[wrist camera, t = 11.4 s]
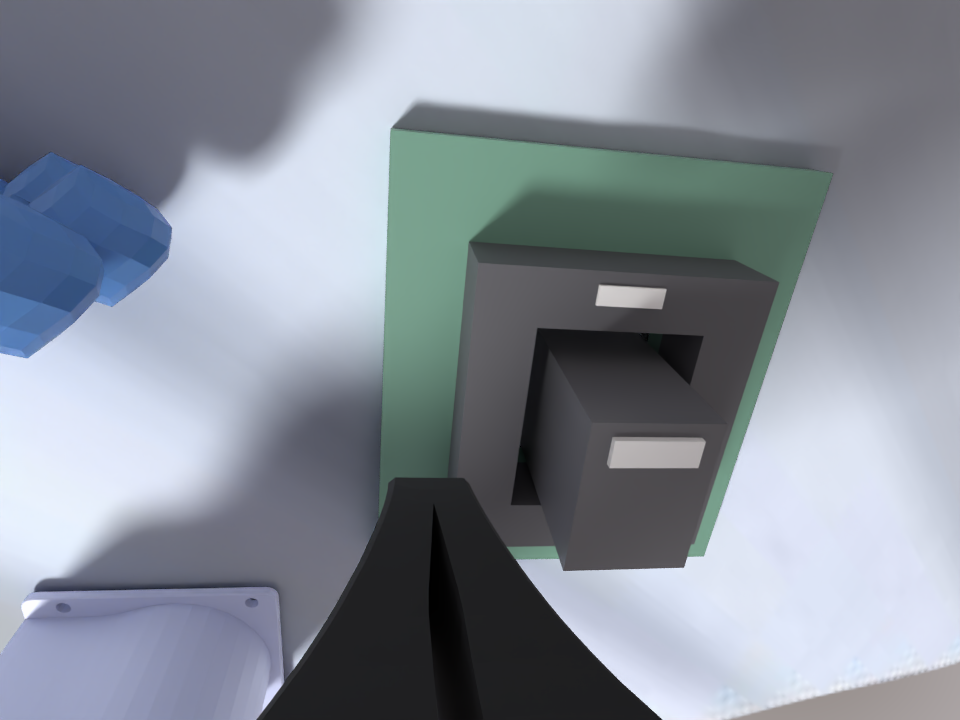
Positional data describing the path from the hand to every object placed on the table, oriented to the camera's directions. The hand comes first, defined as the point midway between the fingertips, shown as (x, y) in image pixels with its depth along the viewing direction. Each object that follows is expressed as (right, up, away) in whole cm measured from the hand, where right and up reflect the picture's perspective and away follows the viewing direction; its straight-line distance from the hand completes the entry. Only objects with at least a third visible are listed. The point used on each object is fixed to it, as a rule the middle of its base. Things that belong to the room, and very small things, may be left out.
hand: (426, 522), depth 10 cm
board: (+4, +2, +11) cm, 12 cm away
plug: (+4, +2, +11) cm, 12 cm away
